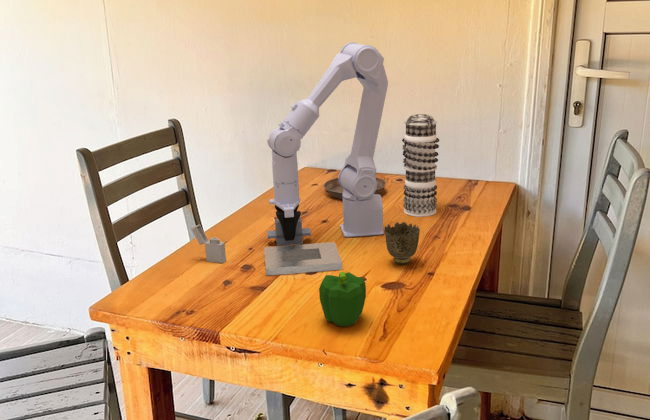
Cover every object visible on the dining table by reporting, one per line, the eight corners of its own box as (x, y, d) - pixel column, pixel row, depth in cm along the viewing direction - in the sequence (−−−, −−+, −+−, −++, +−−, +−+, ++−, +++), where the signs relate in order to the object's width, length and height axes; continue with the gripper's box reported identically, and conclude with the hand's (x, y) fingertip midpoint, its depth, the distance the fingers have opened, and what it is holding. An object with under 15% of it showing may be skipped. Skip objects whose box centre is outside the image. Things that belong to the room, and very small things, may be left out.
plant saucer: (314, 190, 198) (313, 180, 197) (367, 181, 205) (367, 171, 204) (340, 207, 183) (340, 196, 182) (397, 196, 190) (397, 186, 189)
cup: (396, 272, 140) (396, 236, 138) (378, 260, 147) (377, 226, 144) (426, 265, 143) (427, 229, 141) (406, 253, 150) (406, 219, 147)
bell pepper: (327, 307, 127) (325, 257, 124) (370, 311, 124) (369, 261, 121) (313, 328, 119) (311, 276, 116) (359, 333, 117) (358, 280, 114)
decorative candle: (434, 218, 171) (436, 120, 163) (398, 215, 174) (398, 119, 166) (440, 207, 179) (442, 113, 171) (406, 204, 182) (406, 112, 174)
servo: (310, 238, 161) (308, 213, 159) (311, 243, 158) (310, 217, 156) (267, 241, 160) (266, 216, 158) (268, 246, 157) (266, 221, 155)
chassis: (335, 248, 154) (334, 242, 154) (342, 269, 143) (342, 262, 142) (264, 254, 153) (264, 247, 152) (266, 275, 141) (265, 268, 141)
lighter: (226, 260, 150) (223, 226, 147) (222, 263, 149) (219, 228, 146) (198, 256, 152) (194, 223, 150) (194, 259, 151) (190, 226, 148)
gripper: (267, 173, 160) (270, 227, 165) (269, 191, 147) (273, 249, 151) (296, 171, 161) (299, 225, 165) (301, 189, 147) (304, 247, 152)
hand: (289, 236), depth 158 cm, fingers closed on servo, 3 cm apart
